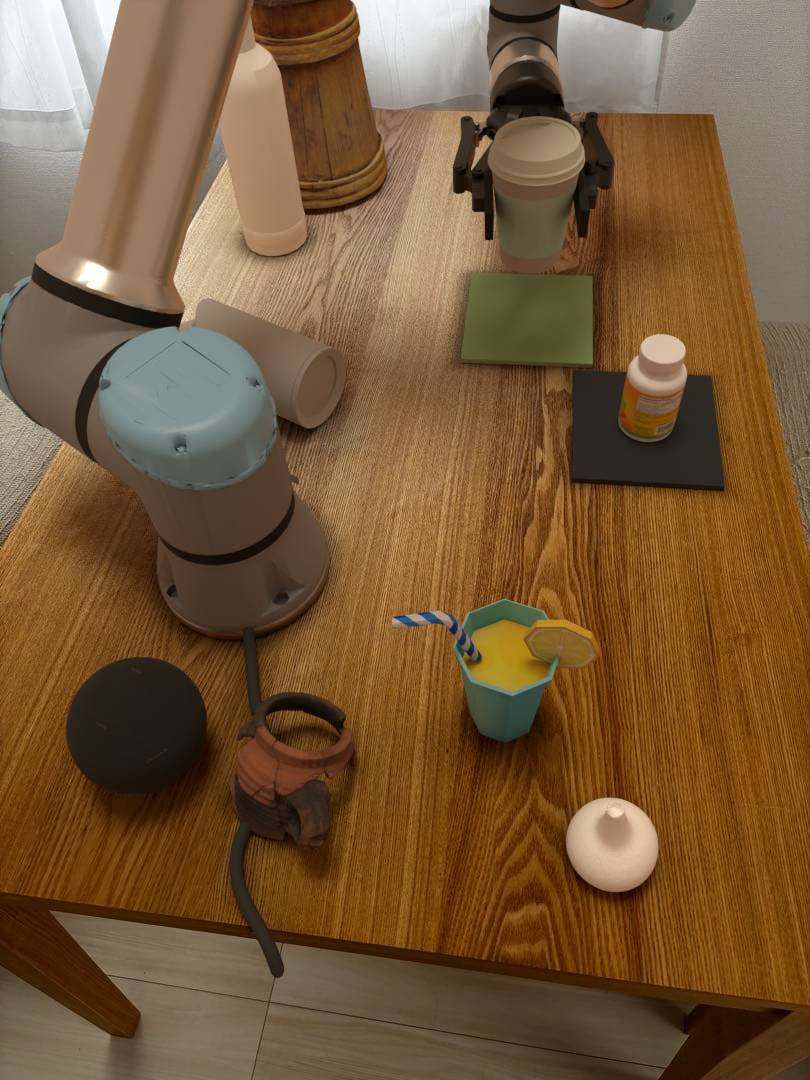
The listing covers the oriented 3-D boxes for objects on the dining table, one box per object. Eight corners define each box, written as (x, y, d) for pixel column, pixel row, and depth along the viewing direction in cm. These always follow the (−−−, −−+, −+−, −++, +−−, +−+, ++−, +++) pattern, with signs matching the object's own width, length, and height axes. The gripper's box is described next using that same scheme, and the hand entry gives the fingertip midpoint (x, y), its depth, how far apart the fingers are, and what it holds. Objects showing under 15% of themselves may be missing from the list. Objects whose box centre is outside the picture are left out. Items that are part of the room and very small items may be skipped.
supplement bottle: (622, 400, 88) (637, 324, 80) (676, 410, 87) (697, 333, 79) (613, 438, 85) (628, 362, 77) (669, 448, 84) (689, 373, 76)
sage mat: (592, 368, 92) (593, 363, 91) (460, 362, 93) (460, 358, 93) (592, 280, 101) (592, 275, 100) (471, 276, 102) (471, 272, 102)
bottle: (285, 212, 112) (236, -52, 88) (320, 238, 108) (280, -31, 84) (233, 238, 110) (168, -28, 86) (268, 265, 106) (210, -5, 82)
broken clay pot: (208, 772, 68) (224, 689, 64) (318, 754, 72) (339, 677, 69) (256, 897, 59) (278, 810, 55) (379, 868, 64) (406, 786, 60)
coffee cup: (573, 230, 87) (586, 112, 77) (574, 284, 82) (588, 164, 72) (488, 229, 88) (490, 113, 78) (484, 282, 83) (485, 164, 73)
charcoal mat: (723, 490, 81) (724, 486, 80) (571, 481, 83) (572, 477, 82) (710, 379, 90) (711, 375, 89) (573, 373, 91) (573, 369, 91)
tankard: (239, 212, 113) (191, 3, 93) (279, 120, 127) (244, -80, 107) (376, 216, 111) (356, 2, 91) (401, 121, 124) (388, -82, 104)
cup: (404, 760, 67) (390, 667, 55) (404, 670, 72) (391, 566, 60) (586, 755, 66) (612, 661, 54) (574, 665, 71) (596, 560, 59)
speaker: (188, 828, 65) (149, 778, 57) (70, 795, 67) (16, 742, 59) (239, 709, 70) (210, 648, 62) (129, 682, 72) (87, 619, 64)
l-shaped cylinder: (295, 308, 98) (125, 370, 94) (288, 239, 89) (99, 304, 84) (364, 427, 92) (185, 500, 87) (364, 367, 82) (164, 445, 78)
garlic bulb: (654, 903, 60) (676, 869, 53) (562, 889, 61) (573, 854, 54) (653, 813, 63) (674, 771, 57) (566, 802, 64) (577, 759, 58)
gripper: (620, 128, 93) (647, 258, 79) (429, 135, 94) (422, 264, 81) (630, 55, 87) (661, 182, 73) (426, 63, 88) (419, 190, 75)
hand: (536, 225), depth 77 cm, fingers closed on coffee cup, 8 cm apart
